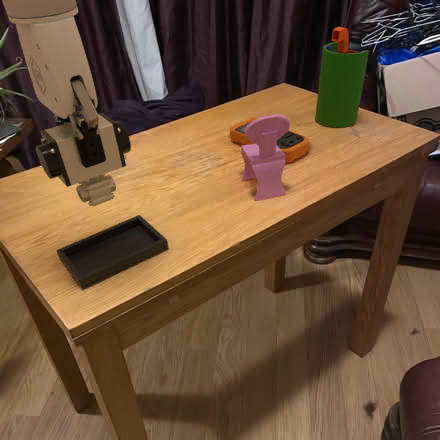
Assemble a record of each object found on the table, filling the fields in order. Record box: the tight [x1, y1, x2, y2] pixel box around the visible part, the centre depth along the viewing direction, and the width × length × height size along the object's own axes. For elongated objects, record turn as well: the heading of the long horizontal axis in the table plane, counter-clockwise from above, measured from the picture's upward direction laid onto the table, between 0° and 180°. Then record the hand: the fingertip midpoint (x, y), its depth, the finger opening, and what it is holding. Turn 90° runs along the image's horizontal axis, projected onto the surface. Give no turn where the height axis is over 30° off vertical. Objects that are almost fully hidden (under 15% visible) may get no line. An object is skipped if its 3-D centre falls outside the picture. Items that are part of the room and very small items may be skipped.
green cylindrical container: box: [314, 26, 370, 128], centre depth 97 cm, size 10×9×20 cm
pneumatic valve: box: [35, 112, 132, 207], centre depth 60 cm, size 6×12×12 cm, turn 125°
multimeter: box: [229, 117, 310, 163], centre depth 95 cm, size 9×18×3 cm, turn 42°
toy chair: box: [240, 114, 291, 202], centre depth 79 cm, size 8×9×15 cm
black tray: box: [55, 214, 169, 291], centre depth 71 cm, size 16×10×2 cm, turn 126°
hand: (85, 154), depth 59 cm, fingers closed on pneumatic valve, 5 cm apart
